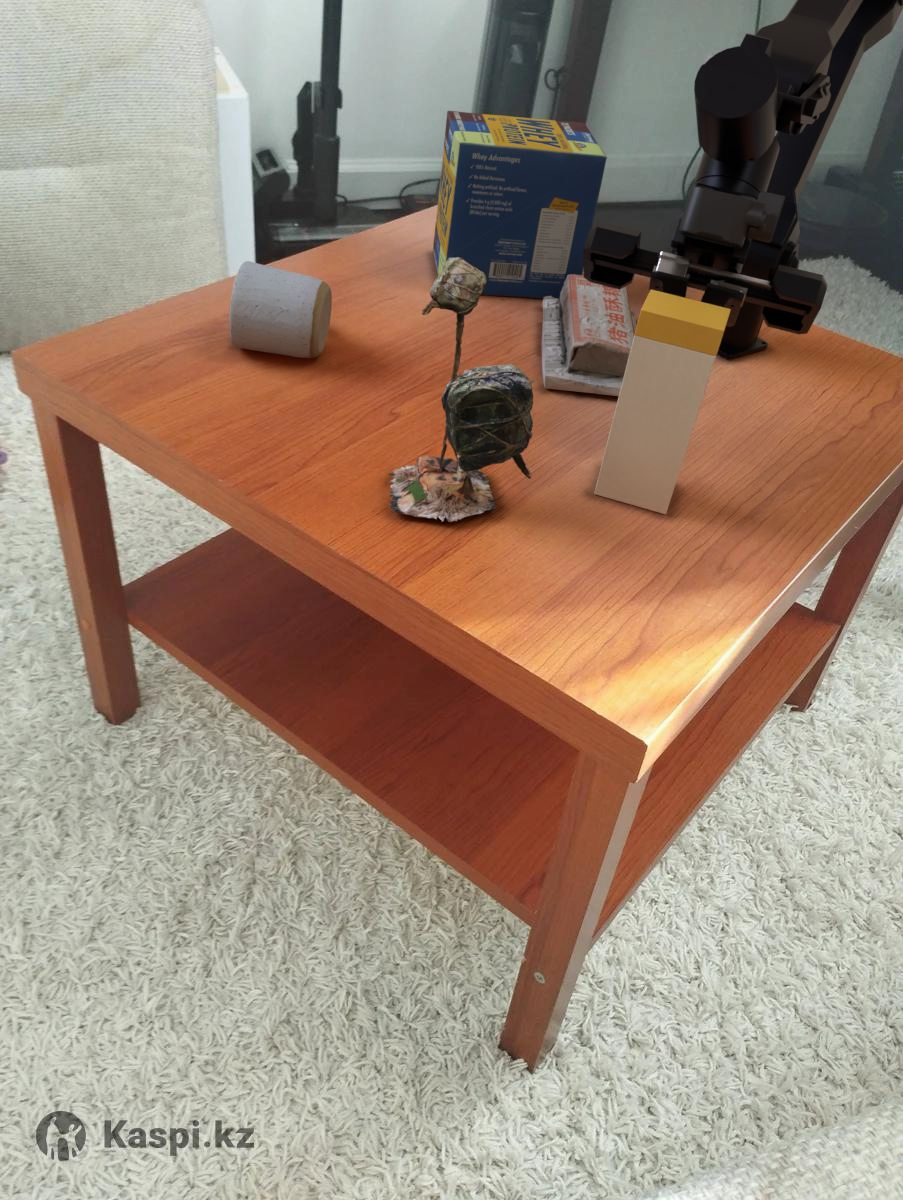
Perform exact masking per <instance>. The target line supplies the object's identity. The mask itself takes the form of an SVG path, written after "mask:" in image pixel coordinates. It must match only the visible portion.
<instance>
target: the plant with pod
mask: <svg viewBox="0 0 903 1200" xmlns="http://www.w3.org/2000/svg"><path fill="white" fill-rule="evenodd" d="M485 284H486V276H485V274H484V273H483V272H481V271H480V270H478V269H477V268H476V267H473V266H472V265H470V264H469V263H468V262H466V261H465V260H463V259H462V258H459V257H455V258H453V257H450V258H448V259H447V261H446V262H445V265H444V267H443V270H442V273H441V274H440V275H439V276H438V275H437V277H436V278H435V279H434V281H433V283H432V285H431V288H430V289H429V295H430V298H431V300H430V301H429V302H427V303H426V306H425V307H424V308H423V309H422V311H421V314H422V315H423V316H427V315H429V314H430V313H431V311H432V310H433V309H440V310H447V311H451V312H454V314H456V323H455V324H456V328H455V331H456V333H455V342H456V343H455V349H454V350H455V351H454V352H455V353H454V361H453V367H452V373H451V375H450V376H451V377H450V381H448V383H447V384H446V385H445V388H444V391H443V393H442V394H443V395H442V396H441V398H440V399H441V404H442V406H441V407H442V409H443V411H444V413H445V419H444V423H445V428H444V437H443V442H442V450H441V453H440V456H435V455H421V456H418V457H417V458H416V462H415V463H414V464H413V465H407V464H405V467H403V466H401V467H400V468H394V469H393V470H392V472H389V473H387V476H389V477H391V478H392V479H391V480H390V481H388V484H389V483H392V484H391V485H390V488H391V490H388V491H387V492H388V493H389V494H390V496H389V497H391V498H390V501H388V503H389V504H390V505H388V506H387V507H388V508H389V509H391V510H393V511H394V513H398V514H403V515H407V516H413V517H414V518H427V519H435V520H437V519H438V518H439V520H441V522H444V521H445V519H446V520H447V522H448V523H454V522H457V521H459V520H462V519H464V518H467V517H471V516H474V515H482V514H484V513H485V511H491V510H492V511H493V510H497V509H498V504H497V503H496V502H495V500H494V496H493V495H492V494H493V492H492V491H491V488H490V487H491V486H490V485H489V482H490V480H489V479H487V478H488V476H486V475H485V474H484V473H483V471H482V470H483V469H484V468H486V467H488V466H492V465H497V464H498V465H499V464H504V463H505V462H507V461H509V460H511V459H512V460H513V462H514V463H515V465H516V466H517V468H518V469H520V471H521V473H523V475H524V476H525V477H526V478H527V479H528V480H530V479H532V471H531V470H530V468H529V467H528V466H527V464H526V461H525V460H524V459H523V456H522V453H524V451H525V450H526V449H527V448H528V446H529V443H530V440H532V438H533V432H532V431H533V427H534V425H533V424H534V421H533V415H532V413H531V411H532V410H533V405H534V393H533V386H532V384H534V383H535V382H536V381H537V379H535V380H531V381H530V379H529V377H528V376H527V375H526V374H525V372H524V370H522V369H520V368H519V367H517V366H516V365H513V364H511V363H508V364H507V363H505V364H494V365H483V366H473V368H471V369H465V370H463V372H462V373H461V374H459V375H458V372H459V370H460V369H459V368H460V364H461V356H462V347H461V345H462V343H463V341H462V338H463V334H464V327H465V316H468V315H470V314H471V313H472V312H473V310H474V309H475V308H476V307H477V306H478V304H479V302H480V297H481V293H482V291H483V290H484V287H485ZM447 442H448V443H449V445H450V447H451V448H452V450H453V454H454V456H455V458H456V460H454V459H453V458H450V457H445V455H446V451H447V448H448V447H447V446H448V445H447Z"/></svg>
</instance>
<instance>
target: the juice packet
mask: <svg viewBox="0 0 903 1200" xmlns="http://www.w3.org/2000/svg"><path fill="white" fill-rule="evenodd" d="M648 292H649V291H648ZM730 311H731V309H728V308H724V307H720V306H716V305H712V304H708V303H704V302H701V300H695V299H691V298H687V297H685V298H684V297H680V296H676V295H672V294H668V293H664V292H660V291H655V290H650V292H649V294H648V293H647V296H646V298H645V300H644V302H643V305H642V306H641V308H640V311H639V315H638V319H637V322H636V326H637V327H636V331H635V335H634V338H633V342H632V346H631V350H630V354H629V358H628V362H627V366H626V370H625V374H624V378H623V382H622V386H621V389H620V393H619V396H617V402H616V404H615V405H616V406H615V409H614V414H613V417H612V421H611V426H610V429H609V433H608V437H607V441H606V444H605V449H604V453H603V457H602V460H601V465H600V469H599V473H598V476H597V481H596V484H595V489H594V492H593V495H595V496H596V495H597V496H600V497H604V498H607V499H610V500H613V501H618V502H620V503H624V504H628V505H631V506H635V507H638V508H642V509H645V510H647V511H648V510H649V511H652V512H656V513H658V514H662V515H667V513H668V509H669V507H670V504H671V501H672V500H671V499H672V497H673V494H674V490H675V488H676V483H677V481H678V478H679V475H680V472H681V468H682V465H683V462H684V459H685V456H686V454H687V453H686V452H687V450H688V448H689V447H688V446H689V443H690V441H691V437H692V434H693V431H694V427H695V424H696V422H697V418H698V415H699V412H700V409H701V405H702V402H703V400H704V396H705V393H706V390H707V387H708V385H709V381H710V377H711V374H712V371H713V367H714V364H715V361H716V358H717V356H718V353H717V352H718V349H719V346H720V343H721V340H722V336H723V333H724V330H725V327H726V324H727V321H728V317H729V314H730Z"/></svg>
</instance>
